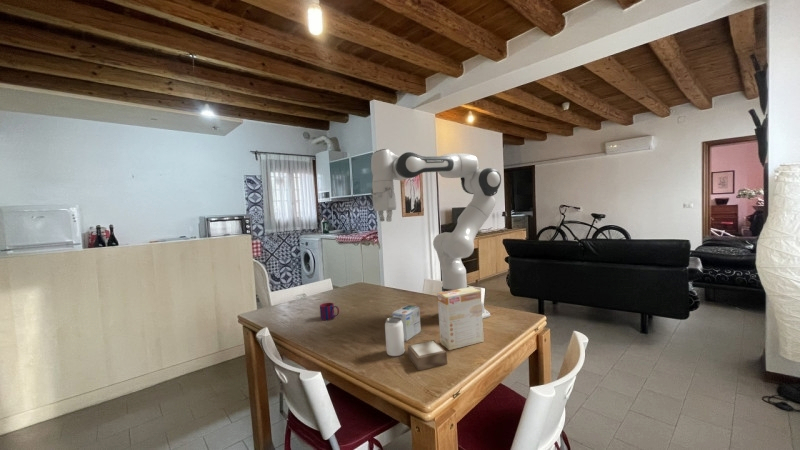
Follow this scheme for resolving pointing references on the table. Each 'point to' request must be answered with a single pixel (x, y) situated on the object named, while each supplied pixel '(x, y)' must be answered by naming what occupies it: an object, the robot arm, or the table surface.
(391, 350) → the can
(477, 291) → the coffeecake box
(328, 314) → the mug
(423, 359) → the base block
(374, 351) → the table surface
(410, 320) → the light bulb box
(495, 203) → the robot arm
